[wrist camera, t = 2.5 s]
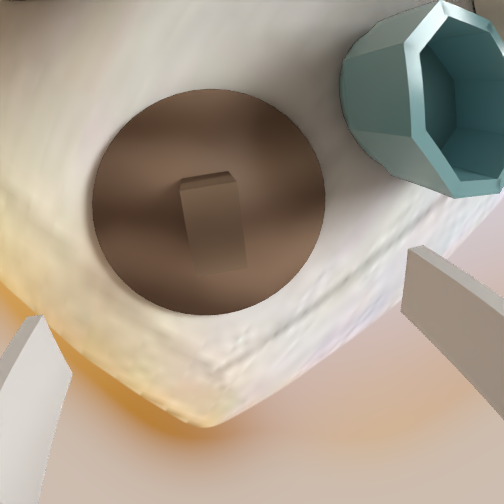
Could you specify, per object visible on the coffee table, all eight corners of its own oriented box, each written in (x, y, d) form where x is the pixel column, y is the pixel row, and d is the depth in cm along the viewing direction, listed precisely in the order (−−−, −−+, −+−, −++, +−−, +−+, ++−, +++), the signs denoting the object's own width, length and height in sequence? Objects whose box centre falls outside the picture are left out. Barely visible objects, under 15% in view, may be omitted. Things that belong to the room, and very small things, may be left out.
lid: (78, 117, 18) (47, 117, 13) (310, 82, 20) (343, 73, 15) (129, 320, 24) (119, 363, 19) (321, 286, 26) (347, 320, 21)
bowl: (330, 19, 17) (391, -16, 10) (448, 41, 19) (516, 34, 12) (344, 176, 22) (410, 204, 15) (456, 168, 24) (522, 190, 17)
